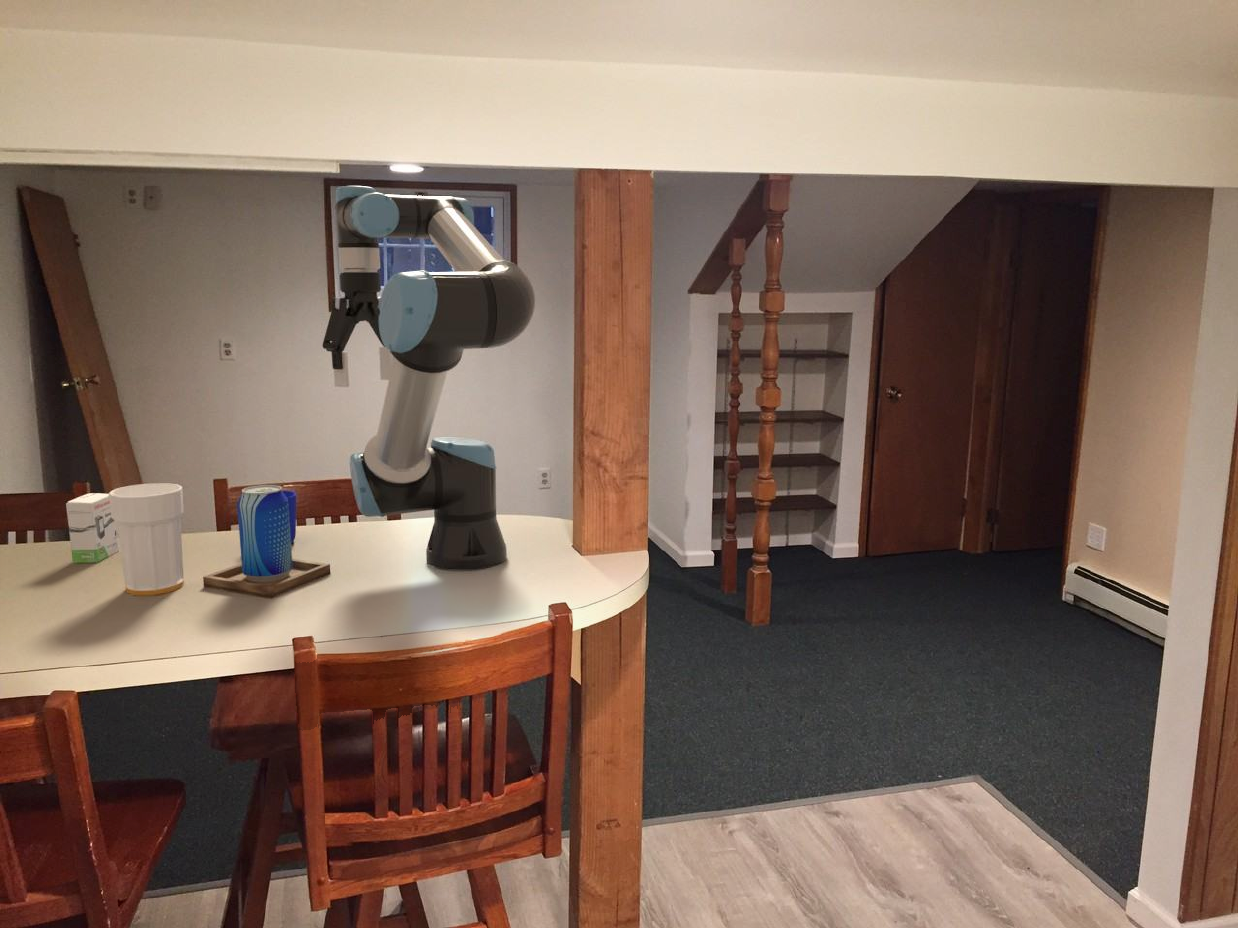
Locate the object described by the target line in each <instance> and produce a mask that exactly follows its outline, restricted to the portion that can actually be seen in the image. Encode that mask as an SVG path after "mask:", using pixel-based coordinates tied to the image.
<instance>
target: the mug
mask: <svg viewBox="0 0 1238 928" xmlns="http://www.w3.org/2000/svg"><path fill="white" fill-rule="evenodd" d="M281 491H282V492H283V493H284V495H285V496H286V497H287V499H288V506H289V521H290V536H291V543H293V542H295V539H296V535H297V534H296V533H297V531H296V529H297V493H296V492H295V491H294V490H281Z"/></svg>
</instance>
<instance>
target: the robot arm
mask: <svg viewBox="0 0 1238 928" xmlns="http://www.w3.org/2000/svg"><path fill="white" fill-rule="evenodd" d="M334 209H335V216H336V229H337V230H336V233H337V234H336V235H337V245H338V246H337V247H338V263H339V264H338V266H339V267H338V268H339V269H340V270H342V272H340V274H339V288H340V292H342V293H344V297H333V298H332V299H331V311H330V312H331V313H330V317H329V320H328V323H327V327H326V329H325V333H324V334H325V335H324V338H323V341H322V348H323V349H324V350H326V352H330V353H331V363H332V364H331V366H332V370H333V374H334V376H333V377H334V387H335V388H349V387H350V380H349V379H350V378H349V377H350V376H349V361H348V360H349V359H348V351H345V349H346V346H347V344H348V342H349V340H350V338H351V336H352V335H353V331H354V330H355V328H356V326H357V324H359V323H360V322H364V321H366V323H368V324H369V326H370V327H371V329H372V330H373V332H374V334H375V335H376V337H377V339H378V340H379V342H380V344H381V345H382V346H379V347H378V349H379V352H378V353H379V372H380V381H382V380H384V381H388V382H387V383H388V384H387V387H386V391H385V396H384V401H383V407H382V408H381V409H382V410H381V414H380V420H379V425H378V430H377V432H376V435H374V436H372V437H371V438H370V439H369V440H368V441H367V442H366V445H365V447H364V451H363V452H362V451H358V452H356V453H353V454H351V455H350V457H349V469H350V478H351V484H352V489H353V495H354V498H355V501H356V502H355V503H356V505H357V509H358V510H359V512H360V513H361V515H362V516H365V517H368V518H369V517H370V518H371V517H382V518H383V517H386V516H393V515H394V516H395V515H402V514H410V513H418V512H425V511H433V512H434V513H433V517H434V522H433V525H432V528H431V532H430V535H429V539H428V542H427V546H426V549H425V552H426V556H425V557H426V563H427V564H428V565H429V566H431V567H433V568H436V569H440V570H442V569H443V570H448V571H472V570H474V571H475V570H481V569H486V568H492V567H495V566H498V565H500V564H502V563H503V562H505V561H506V560H507V556H508V555H507V545H506V542H505V539H504V536H503V533H502V531H501V527H500V525H499V522H498V519H497V486H496V485H497V483H496V482H497V481H496V469H497V466H496V459H495V450H494V448H493V446H492V445H491V444H490V443H487V442H485V441H482V440H478V439H472V438H464V437H453V436H450V437H449V436H440V437H434V438H432V439H431V442H430V446H429V447H428V442H429V439H430V435H431V432H432V427H433V424H434V421H435V417H436V414H437V410H438V407H439V406H438V405H439V403H440V399H441V395H442V392H443V388H444V384H445V381H446V377H447V374H448V372H450V371H451V370H454V369H455V368H456V367H458V365H459V363H460V362H461V360H462V356H463V353H464V350H468V349H470V350H472V349H493V348H497V347H499V348H500V347H502V346H505V345H507V344H509V343H510V342H512V341H514V340H515V339H517V338H518V337H519V336H520V335H521V334H523V332H525V330H526V328H527V327H528V325H530V322H531V320H532V318H533V315H534V311H535V306H536V305H535V304H536V299H535V297H536V296H535V291H534V288H533V285H532V283H531V281H530V279H529V277H528V276H527V274H526V273H525V272H524V271H523V270H522V269H521V268H520V267H519V266H518V265H517V264H515V263H514V262H511V261H508V260H505V259H504V258H503V257H502V256H501V255H500V254H499V253H498V252H497V250H496V249H495V248H494V247H493V246H492V245H491V243H490V242H489V241H488V240H487V239H486V238H485V237H484V236H483V234H482V233H481V232H480V231H479V230H478V229H477V227H475V226H474V223H475V222H474V221H475V216H474V210H473V208H472V205H471V202H470V201H469V200H468V199H466V198H463V197H455V196H449V195H448V196H446V195H445V196H433V195H432V196H429V195H428V196H426V195H425V196H424V195H423V196H422V195H418V196H417V195H401V194H384V193H381V192H377V191H376V189H375V188H373V187H371V186H364V185H363V186H362V185H346V186H344V185H343V186H339V187H337V188H336V190H335V203H334ZM380 238H387V239H389V238H390V239H391V238H393V239H395V238H396V239H427V240H428V239H430V241H431V242H432V243H433V244H434V246H435V247H436V248H437V249H438V251H439V252H440V253H441V255H442V256H443V257H444V259H445V260H446V261H447V262H448V264H449V265H450V266H451V268H452V269H453V271H439V272H438V271H436V272H435V271H432V272H430V271H428V270H423V269H420V270H414V271H406V272H405V271H404V272H403V271H402V272H398V273H395V274H394V275H392V276H390V278H389V279H388V280H387V282H386V283H385V285H384V287H383V290H382V282H381V280H382V279H381V274H380V272H378V270H380V269H381V258H380V256H381V255H380V244H379V243H380V241H379V239H380ZM380 291H382V292H381V295H379V296H378V295H377V294H378V293H380Z"/></svg>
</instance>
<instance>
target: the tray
mask: <svg viewBox="0 0 1238 928" xmlns="http://www.w3.org/2000/svg"><path fill="white" fill-rule="evenodd" d="M292 566H293V567H292V570H291V571H290V572H289V575H288V577H286V578H284V579H282V580H278V581H274V582H265V583H258V582H251V581H249V580H248V579H247V577H246V576H245V575H244V574H243V573H242V563H238V564H236V565H233V566H231V567H228V568H225V569H222V570H220V571H216V572H213V573H210V574H207V575H204V576H203V577H202V579H203V587H204V588H209V589H210V588H211V589H215V590H220V591H226V592H232V593H236V594H237V593H238V594H243V595H249V596H254V597H260V598H265V599H272V598H275V597H277V596H280V595H283V594H284V593H287V592H289V591H292V590H295V589H296V588H300V587H301V586H304V585H307V584H309V583H311V582H315V581H317V580H319V579H322V578H324V577H326V576H328V575H331V564H329V563H325V562H324V563H323V562H317V561H309V560H302V559H299V558H292Z"/></svg>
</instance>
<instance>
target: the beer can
mask: <svg viewBox="0 0 1238 928" xmlns="http://www.w3.org/2000/svg"><path fill="white" fill-rule="evenodd" d="M282 489H283V487H282V486H280V485H275V484H261V485H254V486H253V485H252V486H248V487H244V488H243V489H241V493H242V494H241V495H240V496H239V499H238V501H237V504H236V506H237V509H236V510H237V519H238V520H237V521H238V531H239V534H238V535H239V547H240V556H241V564H242V573H243V574H244V575H245V576H246V577H247V579H248V580H249V581H251V582H258V583H265V582H274V581H278V580H282V579H284V578H286V577H288V575H289V572H290V571H291V570H292V567H293V566H292V559H293V555H292V554H293V553H292V542H291V536H290V521H289V506H288V499H287V497H286V496H285V495H284V493H283V492H282V491H283V490H282Z"/></svg>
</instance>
